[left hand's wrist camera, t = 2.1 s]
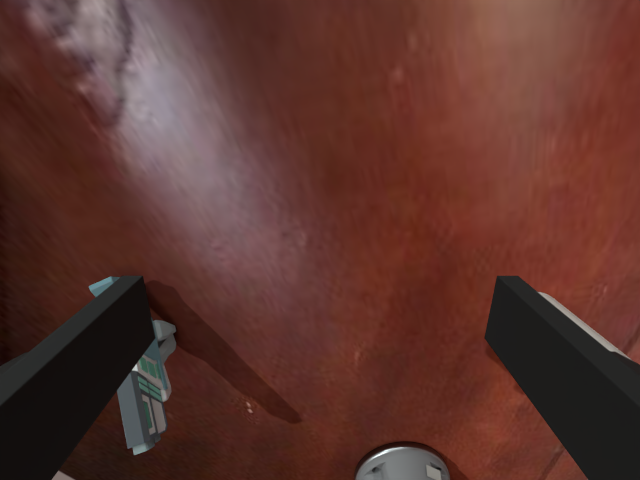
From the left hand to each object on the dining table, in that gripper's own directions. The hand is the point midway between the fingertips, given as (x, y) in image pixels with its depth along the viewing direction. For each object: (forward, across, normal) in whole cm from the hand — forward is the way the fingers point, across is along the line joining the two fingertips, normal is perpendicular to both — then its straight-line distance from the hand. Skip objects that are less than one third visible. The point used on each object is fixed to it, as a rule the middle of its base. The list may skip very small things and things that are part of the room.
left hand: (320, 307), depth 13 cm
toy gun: (+28, +22, +19) cm, 40 cm away
